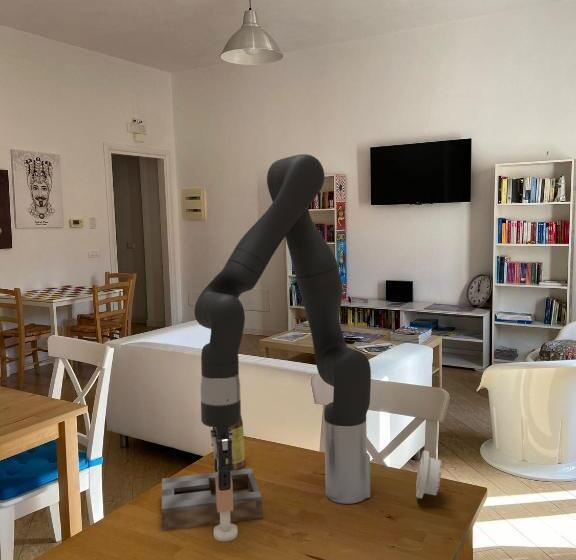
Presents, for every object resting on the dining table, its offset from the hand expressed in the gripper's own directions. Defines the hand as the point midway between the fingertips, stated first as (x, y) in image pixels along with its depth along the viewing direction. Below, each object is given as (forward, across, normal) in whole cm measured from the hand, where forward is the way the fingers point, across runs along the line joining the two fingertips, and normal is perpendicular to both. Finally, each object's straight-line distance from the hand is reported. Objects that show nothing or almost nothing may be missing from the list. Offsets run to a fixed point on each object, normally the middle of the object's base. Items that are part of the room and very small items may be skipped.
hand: (222, 479), depth 109 cm
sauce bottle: (+11, +32, -5) cm, 34 cm away
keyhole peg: (+11, 0, 0) cm, 11 cm away
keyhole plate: (+11, +12, +2) cm, 16 cm away
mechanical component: (+11, +5, -44) cm, 46 cm away
